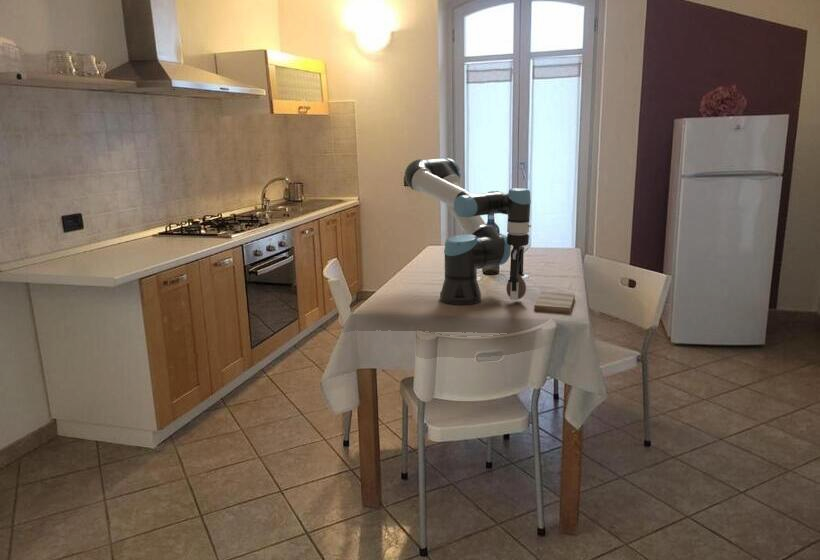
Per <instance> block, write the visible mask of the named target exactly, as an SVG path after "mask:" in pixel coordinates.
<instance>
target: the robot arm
mask: <svg viewBox="0 0 820 560" xmlns="http://www.w3.org/2000/svg"><path fill="white" fill-rule="evenodd" d="M460 171H461V169H460V166H459V165H458V163H457V162H456V161H455V160H454V159H451V158H449V157H439V158H426V159H425V158H424V159H423V158H421V159H416V160H413V161H412V162H410V163H409V164H408V165H407V166H406V169H405V171H404V180H405V182H406V185H407V186H408V187H409V188H410V189H412V190H413V191H415V192H417V193H425V194H427V195H429V196H430V197H432V198H434V199H436V200H438V201H440V202H441V203H443V204H445V205H446V206H447V208H448V209H449V211H450V213H451V214H452V215H453V217H454V219H455V221H456V222H457V224H458V225H459V226H460V228H461V229H462V231H463V232H464V234H457V235H453V236H450V237H448V238H447V239H446V241H444V242H445V243H444V250H443V254H444V280H443V283H442V288H441V290H440V292H439V300H440V301H441V302H442V303H444V302H445V304H448V303H449V304H450V305H454V304H457V305H458V306H465V305H474V304H477V303H479V302H481V301H482V291H481V290H480V286H479V283H478V279H477V277H478V276H477V274H478V273H477V271H478V270H480V269H486V268H491V267H499V266H502V265H504V264H506V263H507V262H508V261H509V259H510V266H509V268H510V269H509V279H508V281H507V283H508V282H511V286H510V297H509V300H513V301H514V300H515V301H518V300H519V299H518V287H519V282H518V275H519V274H520V275H521V277H522V278H523V277H525V273H524V256H525V255H524V252H525V246H528V245H529V243H530V234H528V233H529V232H530V228H531V227H532V225H531V224H530V219H531V218H530V215H531V202H532V200H531V191H530V189H528V188H524V187H523V188H521V187H518V188H517V187H516V188H515V187H513V188H510V189H508V192H504V191H503V192H502V191H499V190H490V191H487V192H486V193H473V192H470V191H468V190H466V189H464V188H462V186H461V184H460V183H461V172H460ZM494 214H495V215H496V214H502V215H507V222H506V223H507V228H506V229H507V230H506V232H507V235H506V234H503V233H498V232H497V231H496V230H495V228H494V227H493V226H492V225H487V223H486V222H485V221H484V219H483V218H482V217H481V216H485V215H486V216H488V215H494ZM449 304H448V305H449Z"/></svg>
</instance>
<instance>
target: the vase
mask: <svg viewBox="0 0 820 560" xmlns="http://www.w3.org/2000/svg"><path fill="white" fill-rule="evenodd" d="M518 282H519V287H518V300H520V299H522V298H524V296H525V294H526V292H527V285H526V282H525V280H524V278H523V276H522V277H521V275H520V274H519V275H518ZM510 286H511V282H508V281H507V284H506V287H505V288H506V289H505V290H506V293H507V296H508V297H509V298H510Z"/></svg>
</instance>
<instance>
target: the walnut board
mask: <svg viewBox="0 0 820 560" xmlns="http://www.w3.org/2000/svg"><path fill="white" fill-rule="evenodd" d="M575 296H576V294H575V293H566V292H565V293H561V292H549V291H540V293H539V295H538V297H537V300H536V301H535V304H534V305H533V306H534V307H533V309H534V310H540V311H539V312H545V311H550V312H549V313H557V312H559V314H569V313H570V314H571V311H572V309H573V306H574V303H575V299H576V297H575Z"/></svg>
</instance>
